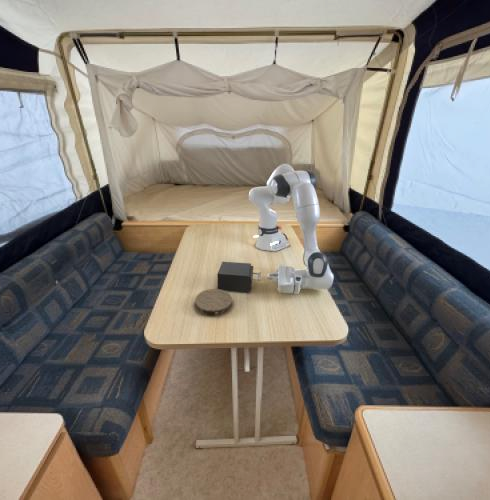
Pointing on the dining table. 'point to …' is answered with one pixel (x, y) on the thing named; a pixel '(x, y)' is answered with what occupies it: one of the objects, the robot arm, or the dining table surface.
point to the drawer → (252, 278)
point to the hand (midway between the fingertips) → (267, 276)
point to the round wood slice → (213, 302)
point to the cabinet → (234, 276)
